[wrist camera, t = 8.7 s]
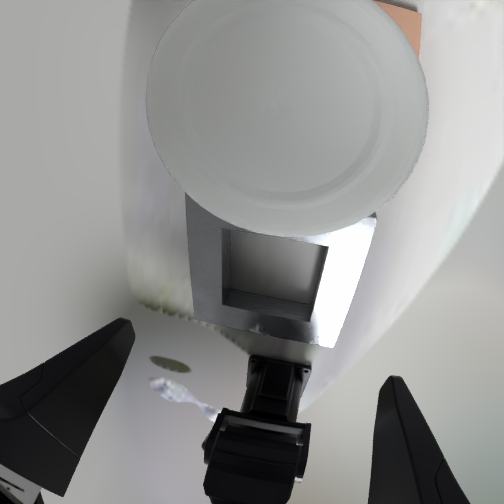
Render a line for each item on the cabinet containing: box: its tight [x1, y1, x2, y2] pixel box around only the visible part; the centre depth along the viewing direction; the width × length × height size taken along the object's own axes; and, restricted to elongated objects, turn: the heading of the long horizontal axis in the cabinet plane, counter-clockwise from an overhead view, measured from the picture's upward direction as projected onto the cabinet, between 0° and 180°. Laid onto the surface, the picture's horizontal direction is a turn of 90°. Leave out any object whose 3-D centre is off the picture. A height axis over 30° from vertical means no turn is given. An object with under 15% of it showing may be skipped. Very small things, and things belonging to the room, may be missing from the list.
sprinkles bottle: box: [146, 0, 429, 237], centre depth 9 cm, size 5×5×13 cm
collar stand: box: [185, 192, 377, 347], centre depth 22 cm, size 12×12×2 cm
